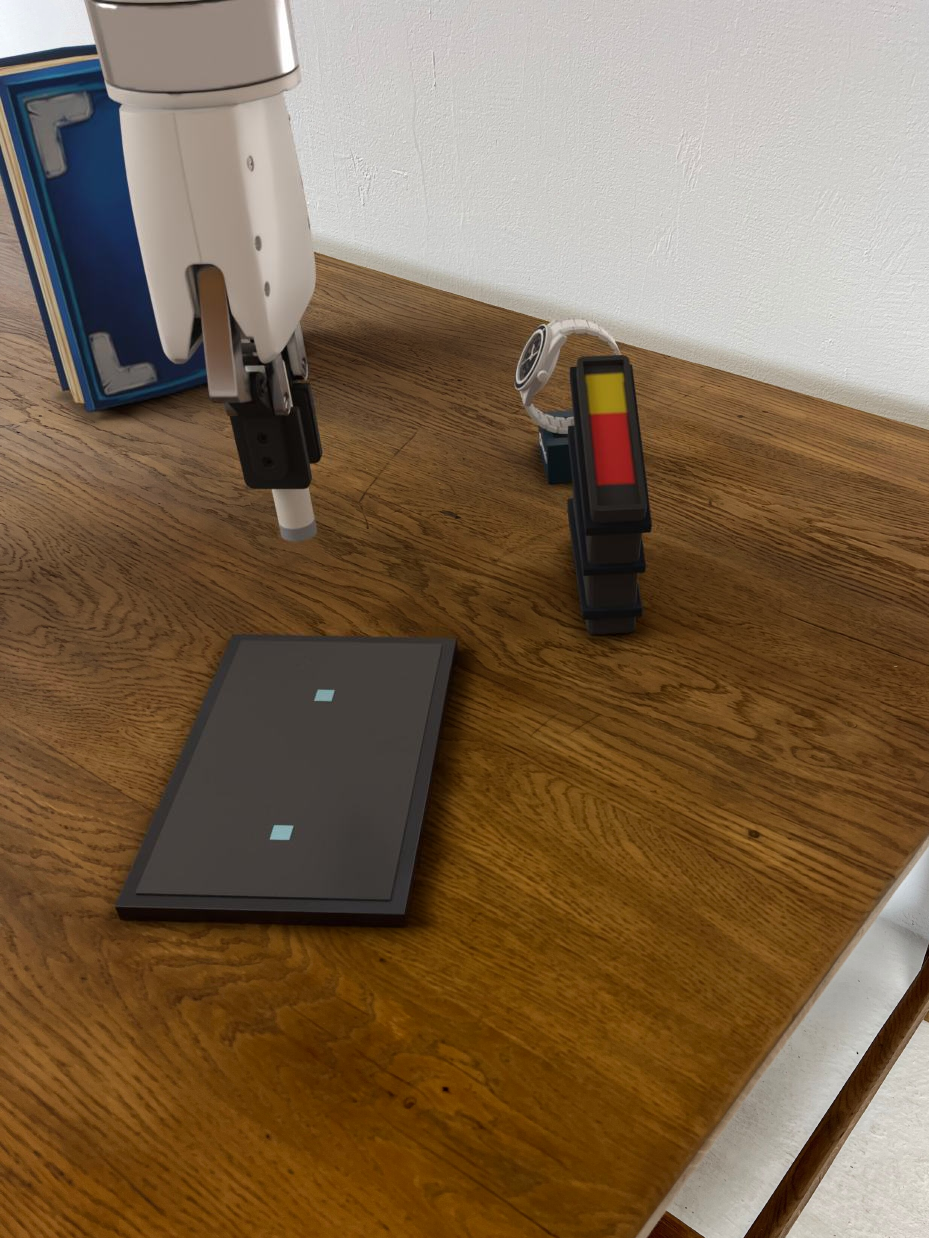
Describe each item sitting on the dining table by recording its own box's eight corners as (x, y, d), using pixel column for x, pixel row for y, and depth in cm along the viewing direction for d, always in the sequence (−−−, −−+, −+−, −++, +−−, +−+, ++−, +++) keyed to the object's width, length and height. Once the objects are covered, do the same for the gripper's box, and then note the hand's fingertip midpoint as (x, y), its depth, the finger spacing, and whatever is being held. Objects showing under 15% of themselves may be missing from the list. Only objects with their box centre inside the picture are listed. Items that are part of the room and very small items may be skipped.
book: (283, 328, 109) (228, 20, 92) (321, 352, 105) (271, 33, 88) (60, 394, 99) (-47, 60, 82) (93, 422, 95) (-13, 78, 78)
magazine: (616, 498, 81) (633, 349, 68) (634, 664, 77) (657, 540, 63) (563, 501, 81) (570, 352, 67) (579, 667, 76) (589, 544, 62)
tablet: (119, 919, 56) (112, 904, 55) (235, 646, 72) (231, 631, 71) (406, 927, 55) (404, 912, 54) (458, 650, 71) (456, 635, 70)
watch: (514, 451, 90) (507, 312, 83) (614, 443, 91) (617, 304, 84) (522, 486, 86) (516, 343, 79) (627, 477, 87) (631, 335, 80)
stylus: (277, 542, 59) (239, 371, 52) (285, 523, 60) (249, 355, 54) (313, 542, 58) (279, 371, 52) (320, 523, 60) (288, 355, 54)
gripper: (163, 7, 51) (250, 403, 63) (23, 95, 39) (163, 560, 51) (332, 4, 50) (385, 403, 63) (242, 92, 39) (329, 560, 51)
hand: (285, 471), depth 57 cm, fingers closed on stylus, 1 cm apart
